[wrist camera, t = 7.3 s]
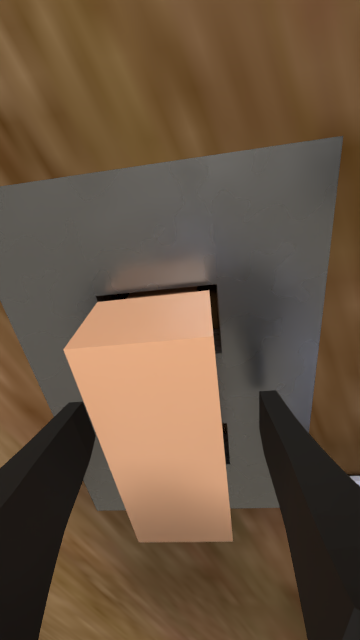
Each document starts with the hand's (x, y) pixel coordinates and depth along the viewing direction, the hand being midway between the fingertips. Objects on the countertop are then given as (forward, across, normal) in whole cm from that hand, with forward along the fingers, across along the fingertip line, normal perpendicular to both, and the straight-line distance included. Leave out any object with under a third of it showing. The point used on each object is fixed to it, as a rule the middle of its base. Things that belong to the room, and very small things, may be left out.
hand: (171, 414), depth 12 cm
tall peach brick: (+3, 0, 0) cm, 3 cm away
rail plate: (+3, 0, 0) cm, 3 cm away
